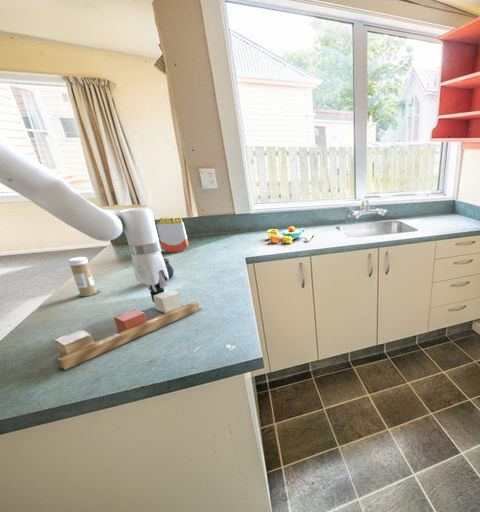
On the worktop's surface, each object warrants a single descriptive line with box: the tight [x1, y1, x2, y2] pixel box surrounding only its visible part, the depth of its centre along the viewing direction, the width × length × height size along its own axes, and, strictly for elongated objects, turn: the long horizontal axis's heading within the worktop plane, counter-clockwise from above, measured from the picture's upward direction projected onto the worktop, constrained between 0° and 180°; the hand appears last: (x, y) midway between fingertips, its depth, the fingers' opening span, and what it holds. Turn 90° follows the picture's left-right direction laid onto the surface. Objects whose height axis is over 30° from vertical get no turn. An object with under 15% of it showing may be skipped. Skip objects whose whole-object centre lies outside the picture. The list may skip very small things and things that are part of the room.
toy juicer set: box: [266, 225, 316, 244], centre depth 178 cm, size 29×18×8 cm, turn 108°
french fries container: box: [156, 216, 189, 253], centre depth 153 cm, size 5×11×18 cm, turn 114°
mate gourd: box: [163, 257, 174, 280], centre depth 117 cm, size 7×8×10 cm
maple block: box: [54, 329, 95, 357], centre depth 72 cm, size 5×5×5 cm
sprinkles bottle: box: [67, 256, 98, 297], centre depth 103 cm, size 5×5×13 cm
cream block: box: [153, 289, 183, 314], centre depth 95 cm, size 5×5×5 cm
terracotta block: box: [113, 309, 148, 333], centre depth 83 cm, size 5×5×5 cm
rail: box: [57, 301, 200, 371], centre depth 82 cm, size 32×2×2 cm, turn 155°
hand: (159, 300), depth 98 cm, fingers closed
